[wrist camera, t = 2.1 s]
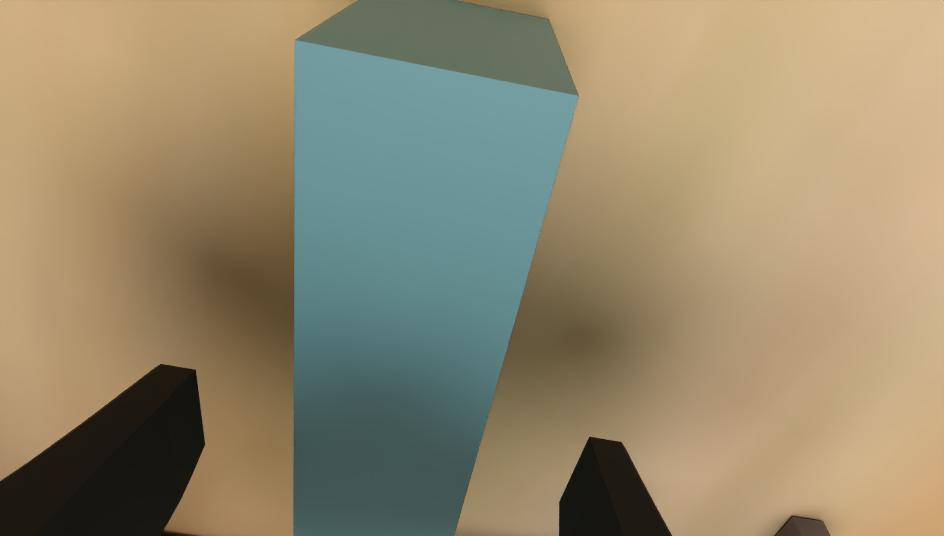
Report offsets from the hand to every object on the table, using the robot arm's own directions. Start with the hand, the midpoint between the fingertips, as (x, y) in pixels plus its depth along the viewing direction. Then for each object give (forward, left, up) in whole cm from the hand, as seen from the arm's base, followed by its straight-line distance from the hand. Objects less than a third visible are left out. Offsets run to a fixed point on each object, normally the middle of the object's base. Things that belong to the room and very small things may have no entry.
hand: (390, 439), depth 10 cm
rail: (0, 0, -4) cm, 4 cm away
